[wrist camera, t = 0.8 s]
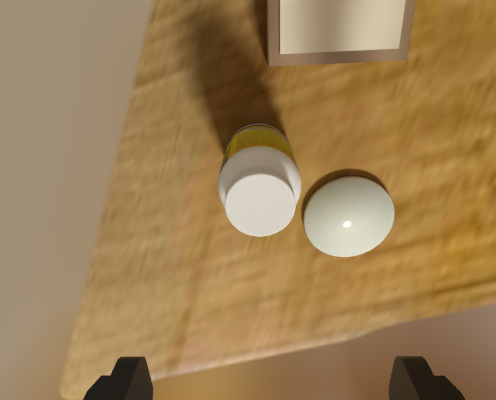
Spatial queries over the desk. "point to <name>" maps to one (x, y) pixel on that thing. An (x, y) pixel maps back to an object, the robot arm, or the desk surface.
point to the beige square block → (337, 31)
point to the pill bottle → (259, 180)
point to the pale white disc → (348, 216)
